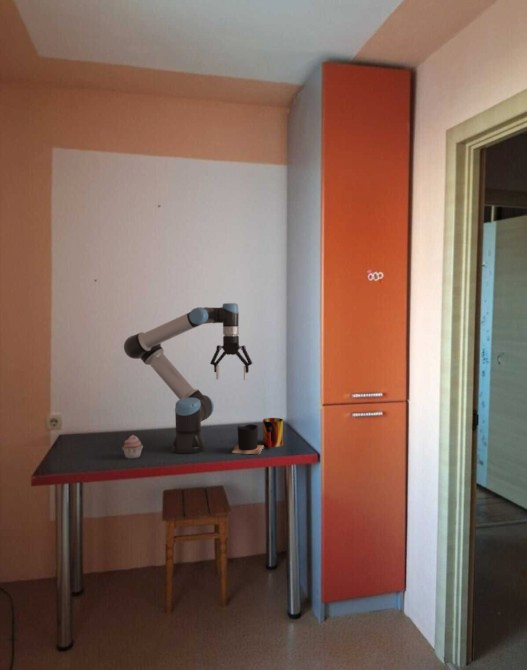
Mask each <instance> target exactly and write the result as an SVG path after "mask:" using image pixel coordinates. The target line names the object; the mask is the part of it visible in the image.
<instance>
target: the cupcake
mask: <svg viewBox="0 0 527 670" xmlns="http://www.w3.org/2000/svg"><path fill="white" fill-rule="evenodd" d="M143 447H144V445H143V444H142V442H141V441H140V439H139V438H138V437H137V436H136V435H134V434H132V435H130V436H129V437H128V439H126V440H125V441H124V445H123V446H121V448H122V450H123V452H124V456H125V458H126V459H129V460H131V459H132V460H133V459H134V458H135V459H138V458H139V457H141V454H142V450H143Z"/></svg>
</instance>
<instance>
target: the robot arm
mask: <svg viewBox="0 0 527 670" xmlns="http://www.w3.org/2000/svg"><path fill="white" fill-rule="evenodd" d="M239 315H240V314H239V305H238V303H234V302H232V303H231V302H226V303H223V304H222V306H221V307H195V308H192V309H191V310H190V311H189V312H187V313H184V314H183V315H180V316H179V317H176V318H174V319H172V320H169V321H168V322H167V321H166V323H163V324H160V325H159V326H157V327H155V328H153V329H150V330H148V331H145V332H142V331H140V332H139V333H137V334H134V335H131V336H130V335H129V337H128V338H127V339H126V340H124V343H123V350H124V353H125V354H126V356H128V357H129V358H131V359H132V360H133V359H134V360H138V359H140V360H141V361H142V362H143V364H145V365H146V366H147V365H149V366H151V368H152V369H153V371H155V373H157V375H158V376H159V377H160V378H161V379H162V381H163V382H164V383H165V384H166V385H167V387H169V389H170V390H171V391H172V393H173V394H174V395H175V396H176V397H177V398H178V399H179V400H177V401H176V402H175V408H174V413H175V436H174V439H173V441H172V442H173V443H172V445H171V447H172V448H171V449H172V450H171V451H172V452H174V453H177V454H182V453H184V454H185V453H190V454H196V453H195V452H197V453H200V451H201V452H203V451H204V450H206V443H205V441H204V438H203V435H202V422H203V421H205V420H207V419H208V418H209V417H211V415H212V414H213V412H214V408H215V407H214V405H215V404H214V402H213V400H212V398H211V397H210V396H208V395H206V394H203V393H202V392H201V390H199V389H197V388H196V389H195V388H194V387H192V385H191V384H190V383H189V382H188V380H187V379H186V378H185V377H184V376H183V375H182V373H181V372H180V371H179V370H178V368H176V367H175V366H174V364H173V363H172V362H171V361H170V360H169V359H168V358H167V356H166V355H165V354H164V352H165V350H164V348H163V347H162V343H164V342H166V341H169V340H171V339H173V338H175V337H177V336H180V335H182V334H183V333H186V332H188V331H190V330H192V329H195V328H197V327H199V326H202V325H204V324H222V334H223V337H222V345H219V344H218V345H216V350H215V352H214V353H213V354H214V355H213V356H212V359H211V361H210V362H209V363H210V365H213V370H214V373H215V375H216V376H215V379H216V380H219V379H220V365H219V364H220V362H221V361H222V360H223V359H224V357H225V356H226V355H227V356H229V355H232V356H234V355H236V356H237V358H238V359H239V360H240V361H241V362H242V364H244V366H243V381H246V380H247V379H248V378H247V374H248V373H249V366H251V365H253V361H252V359H251V358H250V355H249V354H248V352H247V350H246V349H247V348H246V345H240V341H239V340H240V338H239V335H240V333H239V332H240V331H239V329H240V327H239V322H240V321H239V318H240V316H239ZM221 350H223V351H222V353H221V355H220V356H219V353H220V351H221ZM239 350H241V351H242V353H243V355H244V356H243V355H242V354H241V353H240V351H239ZM218 356H219V357H218ZM202 450H203V451H202Z"/></svg>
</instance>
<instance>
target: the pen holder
mask: <svg viewBox="0 0 527 670" xmlns="http://www.w3.org/2000/svg"><path fill="white" fill-rule="evenodd" d="M236 427H237V443H238V444H237V445H238V446H239V449H241V450H254V449H256V448H257V445H258V439H259V438H258V435H259V426H258V424H257V425H256V424H254V423H253V424H246V425H244V426H242V425H241V426H240V425H238V426H236Z"/></svg>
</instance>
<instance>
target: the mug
mask: <svg viewBox="0 0 527 670" xmlns="http://www.w3.org/2000/svg"><path fill="white" fill-rule="evenodd" d="M262 445H265V446H264V447H266V446H268V447H267V448H268V449H269V448H270V449H271V448H278V447H282V446H284V420H283V418H279V417H265V418H263V419H262Z"/></svg>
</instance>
